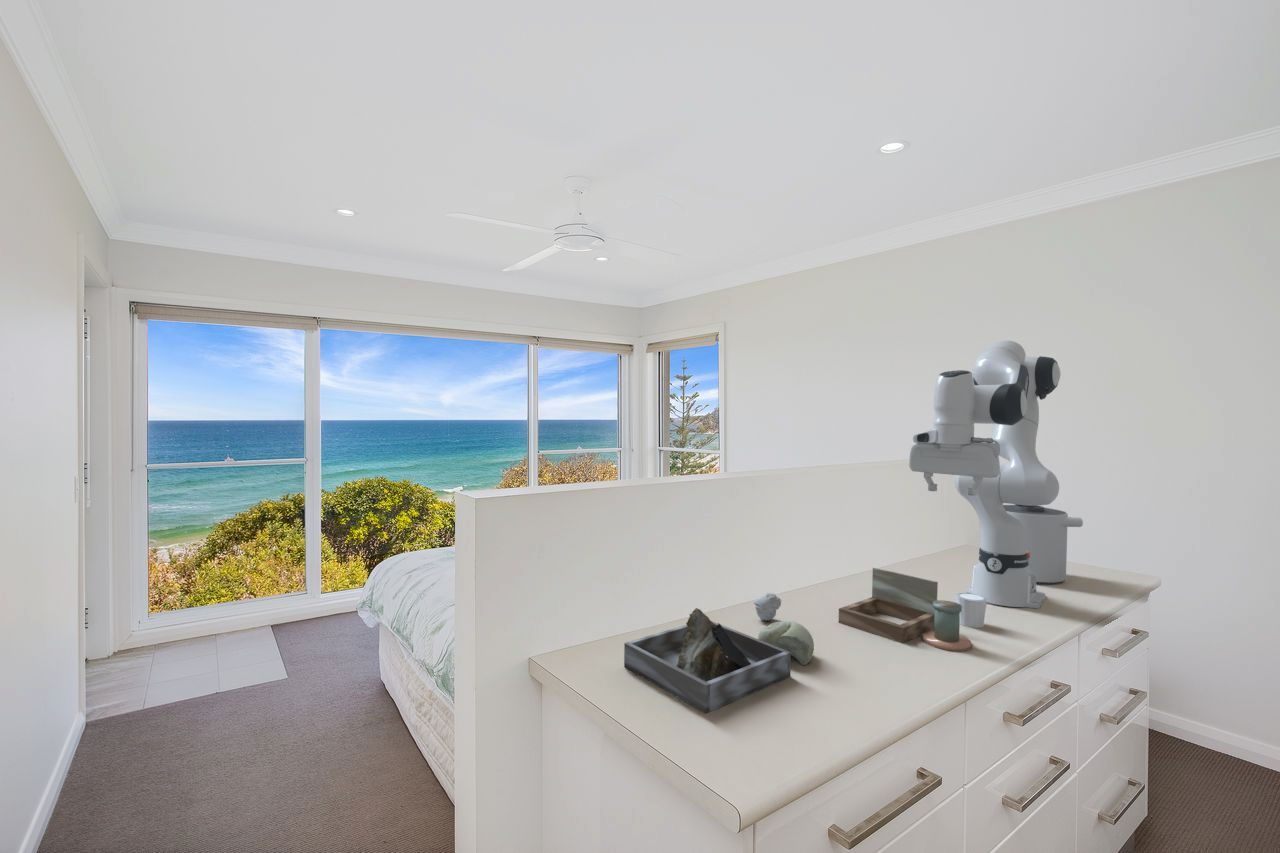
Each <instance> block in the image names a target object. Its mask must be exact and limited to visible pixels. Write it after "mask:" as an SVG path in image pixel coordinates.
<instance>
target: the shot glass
mask: <svg viewBox="0 0 1280 853" xmlns="http://www.w3.org/2000/svg"><path fill="white" fill-rule="evenodd" d="M955 596H956V599H955V600H956V603H958V604H960V605H961V606H962V611H961V612H960V625H962V626H964V627H969V628H976V629H977V628H979V629H980V628H983V627H984V625H985V617H986V609H987V603H988V602H987V599H986V598H985V597H983V596H980V595H977V594H971V593H968V592H959V593H956V595H955Z"/></svg>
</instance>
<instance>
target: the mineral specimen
mask: <svg viewBox="0 0 1280 853" xmlns="http://www.w3.org/2000/svg"><path fill="white" fill-rule="evenodd" d="M713 622H714V621H713ZM713 622H712V620H711V621H710V618H709V616H707V615H706V614H705V613H704V612H703V611H702V610H701V609H700V608H697V607H696V608H694V610H693V611H692V612H690V613H689V617H688V619H687V622H686V624H685V625H687V627H688V628H687V632H688V633H687V634H686V637H685V639H684V641H685V643H684V644H683V646H682V652H681V654H680V656H679V658H678V664H677V665H676V667H678V668H680V669H682V670H684V671H686V672H688V673H690V674H692V675H694V676H696V677H697V678H699V679H701V680H703V681H705V682H707V681H710V680H712V679H715V678H718V677H720V676H723V675H725V674H728V673H731V672H733V671H736V670H738V669H741V668H743V667H746V666H749V665H751V663H750V662H749V661H748V659H747V658H746V656H745V655H744V654H743V653H742V652H741V651H740V650H739V649H738V648H737V647H736V646H735V645H734V644H733V642H732V641H731V640H730V638H729V636H728V635H727V634H726V632H725V630H724V629H723V627H722V626H721V625H722V624H721V623H720V622H717V623H718V625H717V626H716V625H715V624H714V623H713ZM720 624H721V625H720ZM718 626H719V627H718Z"/></svg>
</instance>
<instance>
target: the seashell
mask: <svg viewBox="0 0 1280 853" xmlns="http://www.w3.org/2000/svg"><path fill="white" fill-rule="evenodd" d="M757 635H758V636H757V639H759V640H761V641H764V642H766V643H769V644H771V645H774V646H776V647H779V648H781V649H784V650H786V651H789V652H791V657H794V658H795V660H797V661H798V662H799V663H800V665H803V666H807V664H809V662H810V661H811V659H812V657H813V655H814V650H815V643H814V639H813V636H812V634H811V633H810V631H809V630H808V629H807V628H806V627H805V626H804V625H803V624H801V623H798V622H796V621H794V620H793V621H792V620H791V621H790V620H786V621H776V622H772V623H770V624H768V625H766V626H765V627H763V628H762V629H761V630H760V631H759V633H758V634H757Z"/></svg>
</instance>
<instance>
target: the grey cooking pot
mask: <svg viewBox="0 0 1280 853" xmlns="http://www.w3.org/2000/svg"><path fill="white" fill-rule="evenodd" d="M1003 507H1004V509H1005V510H1006V512H1007V513H1008V514H1010V515H1011V516H1013V517H1015V518H1017V519H1018V520H1020V521H1021V522H1022V523H1023V524H1024V526H1025V528H1026V552H1030V557H1029V559H1028V564H1029V565H1028V568H1029V569H1030V570H1031V571H1032V573H1033V574H1034V575H1035V576H1036V585H1061V584H1063V583H1065V582H1066V580H1067V554H1068V552H1067V551H1068V550H1067V549H1068V528H1081V527H1083V524H1084V521H1083V518H1082V517H1078V516H1077V517H1076V516H1073V517H1072V516H1068V515H1069V513H1068V512H1067V511H1065V510H1062V509H1058V508H1053V507H1044V506H1043V505H1035V506H1027V505H1017V504H1003Z"/></svg>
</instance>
